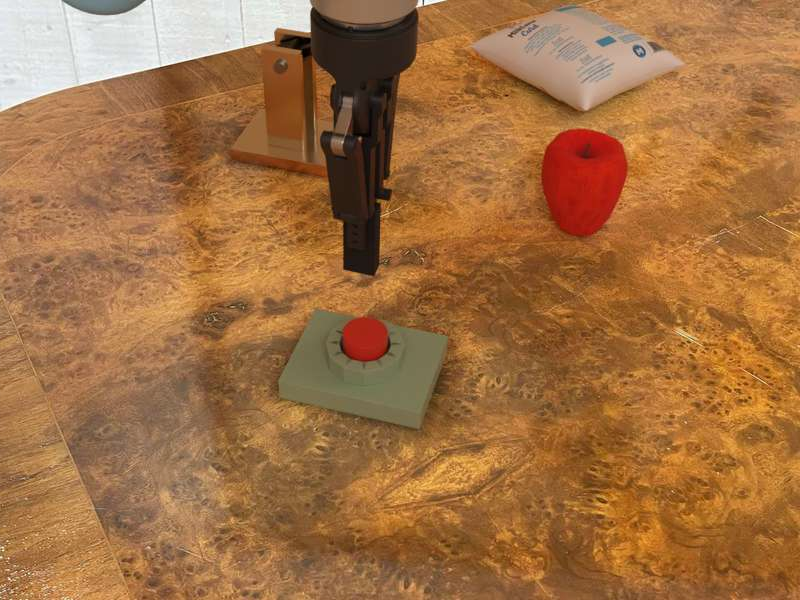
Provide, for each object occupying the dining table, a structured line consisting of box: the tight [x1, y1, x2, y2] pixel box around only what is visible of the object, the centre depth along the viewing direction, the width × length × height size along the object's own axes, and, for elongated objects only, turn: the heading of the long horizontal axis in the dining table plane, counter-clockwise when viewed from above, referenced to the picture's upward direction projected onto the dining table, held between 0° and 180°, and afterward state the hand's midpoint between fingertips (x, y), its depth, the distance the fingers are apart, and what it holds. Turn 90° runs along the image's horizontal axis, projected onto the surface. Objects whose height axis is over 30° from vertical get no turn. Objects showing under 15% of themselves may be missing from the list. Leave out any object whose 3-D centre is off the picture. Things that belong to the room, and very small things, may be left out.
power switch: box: [230, 27, 334, 178], centre depth 121 cm, size 12×9×14 cm
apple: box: [540, 128, 629, 237], centre depth 111 cm, size 9×9×11 cm
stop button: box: [343, 316, 388, 362], centre depth 95 cm, size 4×4×2 cm
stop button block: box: [277, 307, 449, 430], centre depth 96 cm, size 13×10×4 cm
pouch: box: [468, 4, 686, 112], centre depth 135 cm, size 8×19×20 cm
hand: (361, 267), depth 89 cm, fingers closed
